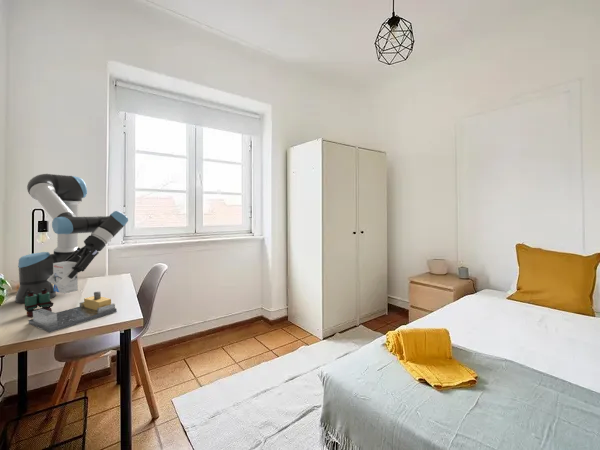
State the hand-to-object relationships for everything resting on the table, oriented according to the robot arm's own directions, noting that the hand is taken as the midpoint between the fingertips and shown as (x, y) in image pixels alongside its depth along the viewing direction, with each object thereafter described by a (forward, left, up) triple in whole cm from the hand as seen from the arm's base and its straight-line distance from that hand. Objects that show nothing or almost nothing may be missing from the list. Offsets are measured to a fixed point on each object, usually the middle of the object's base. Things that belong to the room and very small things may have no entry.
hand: (55, 283), depth 110 cm
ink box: (0, +3, -4) cm, 5 cm away
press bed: (0, +6, -16) cm, 17 cm away
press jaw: (0, +15, -14) cm, 21 cm away
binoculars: (-19, +1, -16) cm, 25 cm away
